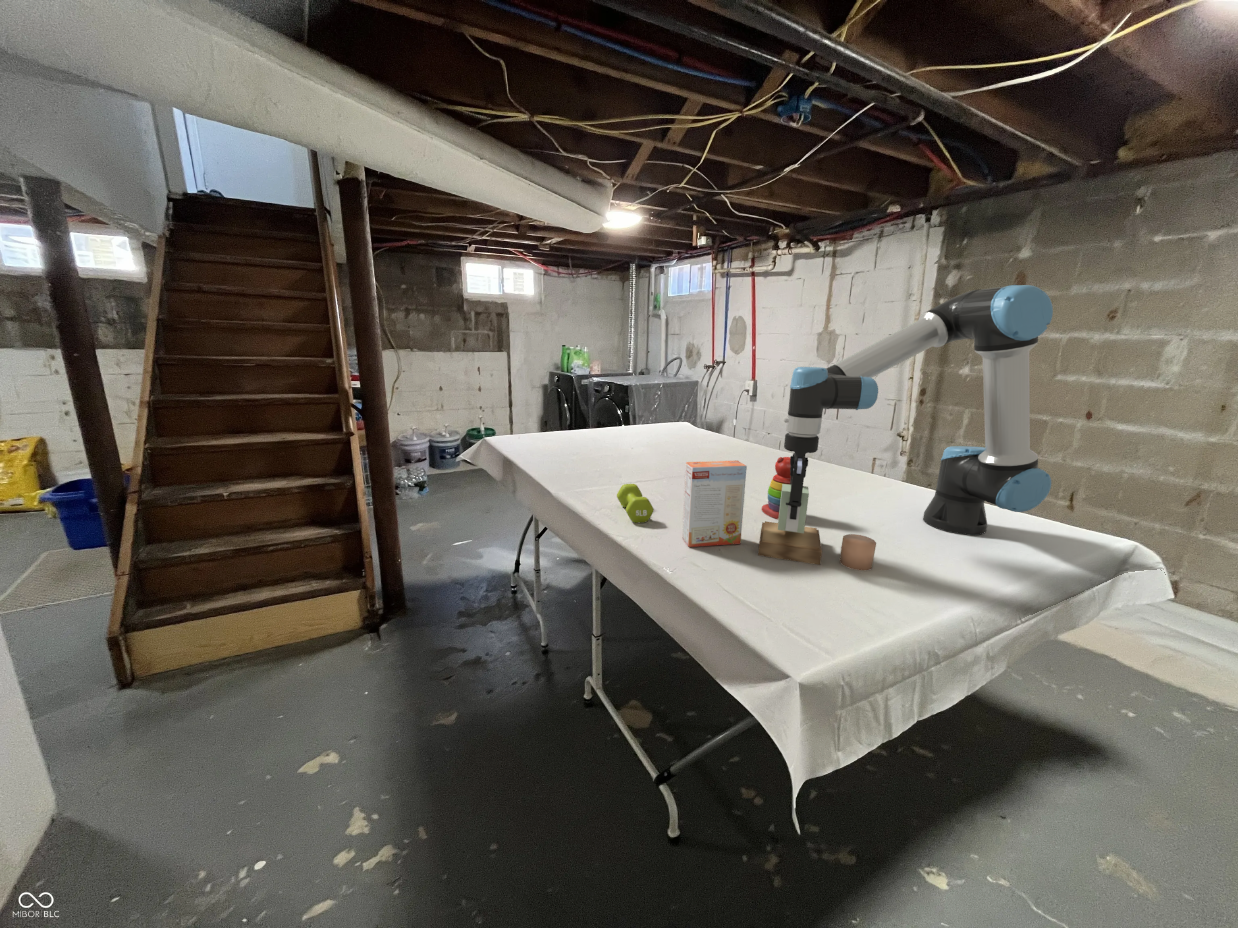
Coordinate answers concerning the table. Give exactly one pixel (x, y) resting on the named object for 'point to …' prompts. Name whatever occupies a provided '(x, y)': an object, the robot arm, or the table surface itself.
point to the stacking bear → (777, 487)
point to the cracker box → (713, 503)
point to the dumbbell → (635, 503)
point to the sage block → (784, 508)
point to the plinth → (790, 544)
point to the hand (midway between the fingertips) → (791, 525)
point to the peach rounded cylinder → (857, 552)
